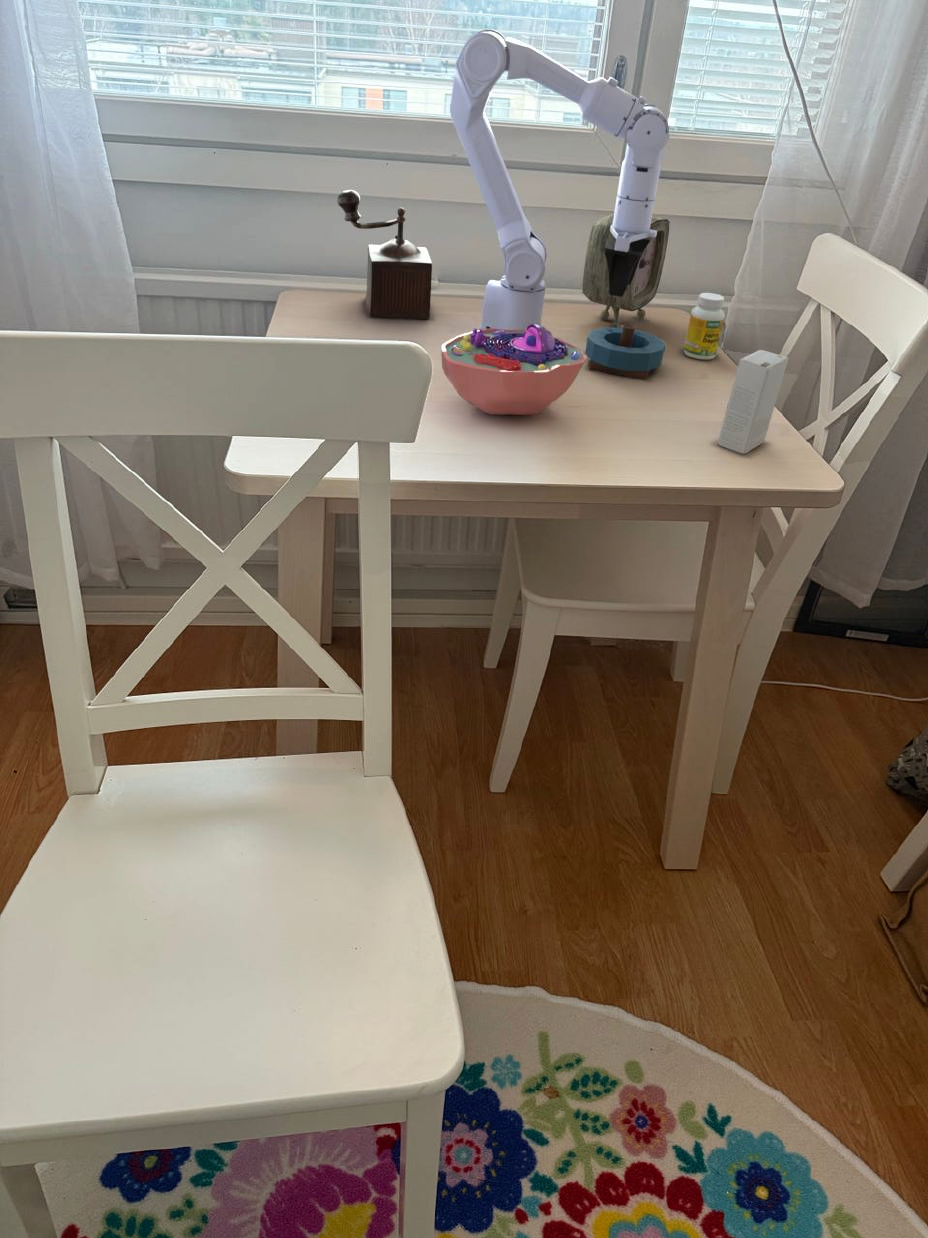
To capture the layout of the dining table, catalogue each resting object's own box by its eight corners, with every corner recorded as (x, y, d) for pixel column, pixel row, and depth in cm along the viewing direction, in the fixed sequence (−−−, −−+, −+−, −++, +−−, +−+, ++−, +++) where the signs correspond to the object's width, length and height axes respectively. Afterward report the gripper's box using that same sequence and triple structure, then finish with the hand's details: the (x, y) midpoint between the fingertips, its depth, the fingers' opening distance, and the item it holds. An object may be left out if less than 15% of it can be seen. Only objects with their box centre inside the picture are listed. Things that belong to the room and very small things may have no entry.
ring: (579, 362, 149) (582, 344, 147) (594, 339, 158) (596, 322, 157) (655, 376, 147) (659, 358, 145) (665, 352, 156) (669, 335, 154)
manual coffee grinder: (423, 300, 173) (430, 192, 163) (430, 319, 164) (437, 206, 154) (336, 296, 170) (336, 186, 160) (338, 316, 161) (339, 201, 151)
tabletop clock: (620, 337, 164) (648, 178, 150) (573, 325, 168) (595, 168, 154) (653, 318, 175) (681, 168, 161) (607, 307, 179) (631, 159, 165)
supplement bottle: (699, 347, 163) (712, 289, 158) (722, 357, 160) (736, 299, 155) (676, 351, 161) (688, 292, 155) (699, 362, 157) (712, 302, 152)
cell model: (418, 389, 137) (422, 309, 131) (544, 381, 144) (554, 304, 138) (462, 438, 125) (470, 352, 118) (598, 426, 132) (613, 344, 125)
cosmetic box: (736, 433, 134) (758, 347, 127) (766, 444, 131) (790, 356, 125) (715, 445, 130) (737, 356, 123) (745, 456, 127) (769, 367, 121)
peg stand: (588, 369, 150) (595, 329, 147) (599, 351, 157) (605, 313, 154) (646, 379, 148) (654, 339, 145) (654, 361, 156) (661, 323, 152)
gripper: (656, 209, 138) (638, 305, 146) (668, 192, 150) (651, 282, 158) (607, 202, 140) (592, 297, 147) (623, 186, 152) (609, 275, 159)
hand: (620, 289), depth 153 cm, fingers open, 7 cm apart
